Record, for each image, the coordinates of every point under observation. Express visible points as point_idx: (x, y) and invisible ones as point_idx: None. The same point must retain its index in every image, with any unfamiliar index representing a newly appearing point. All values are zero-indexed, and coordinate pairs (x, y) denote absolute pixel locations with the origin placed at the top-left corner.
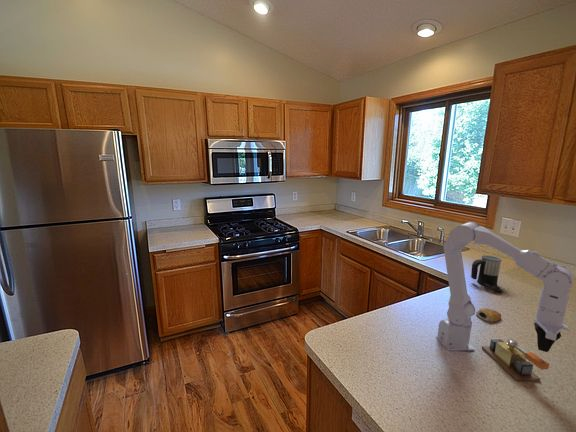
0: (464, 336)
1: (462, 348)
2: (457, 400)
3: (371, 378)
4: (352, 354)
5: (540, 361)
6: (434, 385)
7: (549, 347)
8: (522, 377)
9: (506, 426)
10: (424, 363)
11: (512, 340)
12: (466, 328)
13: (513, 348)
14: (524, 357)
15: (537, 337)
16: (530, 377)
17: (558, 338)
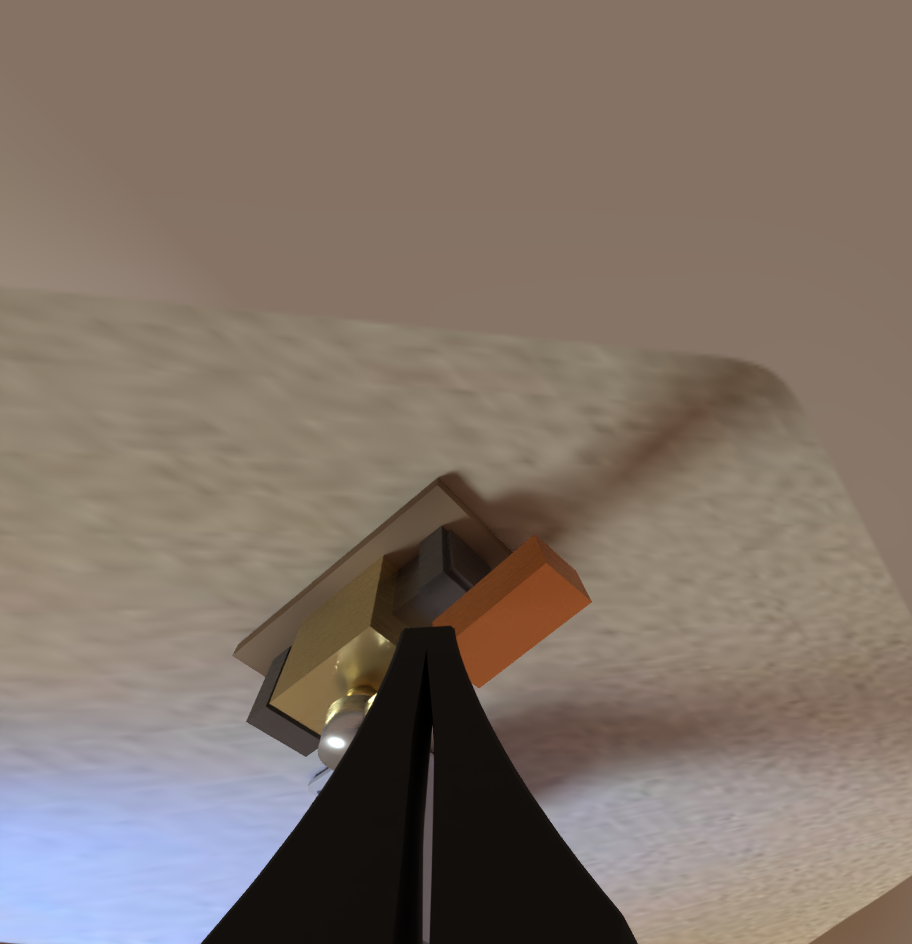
0: (431, 854)
1: (431, 766)
2: (810, 712)
3: (818, 876)
4: (724, 932)
5: (545, 611)
6: (761, 772)
7: (470, 682)
8: (501, 559)
9: (888, 582)
10: (642, 816)
11: (333, 753)
12: (427, 930)
13: (372, 695)
14: (385, 614)
15: (422, 836)
16: (468, 527)
17: (609, 903)
